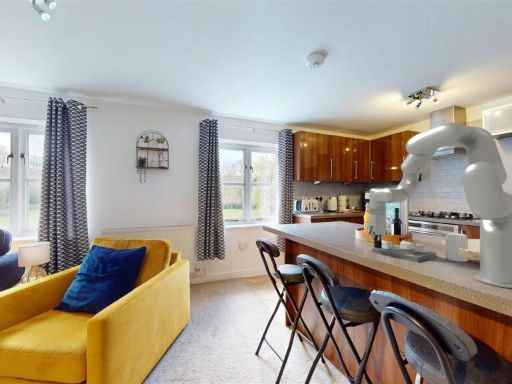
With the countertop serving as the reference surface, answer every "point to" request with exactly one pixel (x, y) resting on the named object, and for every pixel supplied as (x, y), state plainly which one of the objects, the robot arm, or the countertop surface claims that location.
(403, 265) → the countertop surface
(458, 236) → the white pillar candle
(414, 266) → the countertop surface
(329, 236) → the countertop surface
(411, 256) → the switch panel
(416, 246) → the knob
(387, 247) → the knob
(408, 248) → the knob
